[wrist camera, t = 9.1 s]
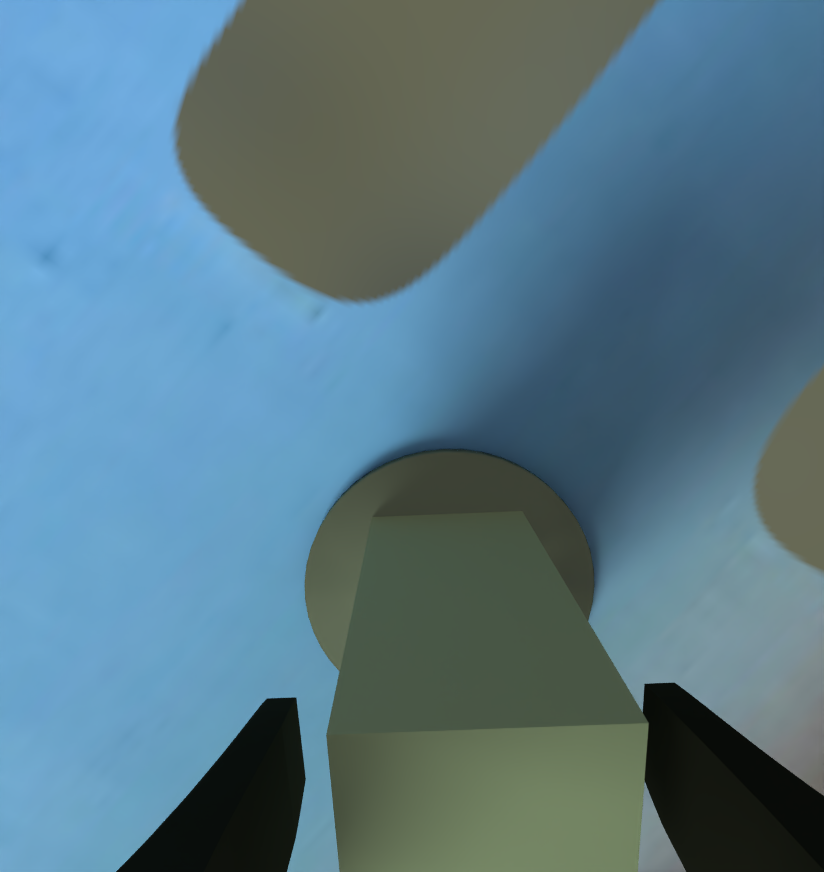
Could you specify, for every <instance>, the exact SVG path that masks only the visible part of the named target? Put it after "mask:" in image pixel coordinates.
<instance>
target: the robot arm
mask: <svg viewBox="0 0 824 872" xmlns="http://www.w3.org/2000/svg"><path fill="white" fill-rule="evenodd" d="M643 714H644V716H645V718H646V719H647V721H648V723H649V726H648V739H647V752H646V766H645V779H644V780H645V783H646V785H647V788H648V790H649V793H650V796H651V798H652V801H653V803H654V806H655V808H656V810H657V813H658V815H659V818H660V820H661V823H662V825H663V827H664V829H665V831H666V833H667V835H668V837H669V839H670V841H671V843H672V845H673V847H674V849H675V851H676V853H677V854H678V856H679V858H680V860H681V862H682V864H683V866H684V868H685V870H686V872H824V796H823V795H822V794H820V793H819V792H817V791H816V790H815V789H813V788H812V787H810V786H809V785H808V784H806V783H805V782H804V781H802V780H801V779H799V778H798V777H797V776H795V775H794V774H793V773H791V772H790V771H789V770H787V769H786V768H785V767H783V766H782V765H781V764H779V763H778V762H777V761H775V760H774V759H773V758H771V757H770V756H769V755H767V754H766V753H765V752H763V751H762V750H761V749H759V748H758V747H757V746H756V745H754V744H753V743H752V742H750V741H749V740H748V739H746V738H745V737H744V736H743V735H741V734H740V733H739V732H738V731H736V730H735V729H734V728H732V727H731V726H730V725H729V724H727V723H726V722H725V721H723V720H722V719H721V718H720V717H718V716H717V715H716V714H715V713H713V712H712V711H711V710H709V709H708V708H707V707H706V706H704V705H703V704H702V703H701V702H699V701H698V700H697V699H695V698H694V697H693V696H692V695H690V694H689V693H688V692H686V691H685V690H684V689H682V688H681V687H680V686H678V685H677V684H676V683H654V684H645V687H644V702H643ZM305 780H306V778H305V770H304V761H303V752H302V744H301V735H300V726H299V718H298V709H297V700H296V698H271V699H266V700H265V701H264V702H263V703H262V705H261V706H260V707H259V708H258V710H257V711H256V712H255V713H254V715H253V716H252V717H251V719H250V720H249V721H248V722H247V724H246V725H245V726H244V727H243V729H242V730H241V731H240V733H239V734H238V735H237V736H236V738H235V739H234V740H233V741H232V743H231V744H230V745H229V746H228V748H227V749H226V750H225V751H224V753H223V754H222V755H221V756H220V757H219V759H218V760H217V761H216V762H215V763H214V765H213V766H212V767H211V768H210V769H209V771H208V772H207V773H206V774H205V775H204V777H203V778H202V779H201V780H200V781H199V782H198V784H197V785H196V786H195V787H194V788H193V790H192V791H191V792H190V793H189V794H188V795H187V797H186V798H185V799H184V800H183V801H182V802H181V803H180V804H179V805H178V807H177V808H176V809H175V810H174V811H173V812H172V813H171V814H170V815H169V816H168V818H167V819H166V820H165V821H164V822H163V823H162V824H161V825H160V826H159V827H158V829H157V830H156V831H155V832H154V833H153V834H152V835H151V836H150V837H149V838H148V840H147V841H146V842H145V843H144V844H143V845H142V846H141V847H140V848H139V849H138V850H137V851H136V852H135V853H134V854H133V855H132V856H131V857H130V858H129V859H128V860H127V861H126V862H125V863H124V864H123V865H122V866H121V867H120V868H119V869H118V870H117V871H116V872H287V869H288V865H289V861H290V858H291V854H292V850H293V846H294V842H295V838H296V833H297V827H298V822H299V816H300V810H301V804H302V798H303V792H304V786H305Z"/></svg>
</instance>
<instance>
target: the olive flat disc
mask: <svg viewBox="0 0 824 872" xmlns="http://www.w3.org/2000/svg"><path fill="white" fill-rule="evenodd" d="M508 511H522V512H523V513H524V515H525V517H526V518H527V520H528V522H529V523H530V525H531V527H532V528H533V530H534V532H535V533H536V535H537V537H538V538H539V540H540V542H541V543H542V545H543V547H544V548H545V550H546V552H547V553H548V555H549V557H550V559H551V560H552V562H553V564H554V565H555V567H556V569H557V570H558V572H559V574H560V575H561V577H562V579H563V580H564V582H565V584H566V585H567V587H568V589H569V590H570V592H571V594H572V595H573V597H574V599H575V600H576V602H577V604H578V605H579V607H580V609H581V610H582V612H583V614H584V616H585V617H586V619H587V621H588V619H589V615H590V611H591V607H592V602H593V593H594V569H593V563H592V558H591V552H590V549H589V546H588V543H587V541H586V538H585V535H584V533H583V531H582V529H581V527H580V525H579V523H578V521H577V519H576V518H575V517H574V515H573V514H572V512H571V511H570V510H569V508H568V507H567V505H566V504H565V503H564V502H563V501H562V499H561V498H560V497H559V496H558V495H557V494H556V493H555V492H554V491H553V490H552V489H551V488H550V487H549V486H548V485H547V484H546V483H545V482H543V481H542V480H541V479H540V478H538V477H537V476H536V475H534V474H533V473H531V472H530V471H528V470H526V469H524V468H523V467H521V466H519V465H518V464H515V463H513V462H511V461H508V460H506V459H504V458H501V457H498V456H494V455H491V454H487V453H484V452H478V451H471V450H464V449H439V450H429V451H422V452H418V453H414V454H410V455H406V456H403V457H400V458H398V459H395V460H392V461H390V462H387V463H385V464H383V465H381V466H380V467H378V468H376V469H374V470H372V471H370V472H369V473H368V474H366V475H365V476H363V477H362V478H361V479H359V480H358V481H356V482H355V483H354V484H353V485H352V486H351V487H350V488H349V489H348V490H347V491H345V492H344V493H343V494H342V495H341V496H340V498H339V499H338V500H337V501H336V503H335V504H334V505H333V506H332V508H331V509H330V510H329V512H328V514H327V515H326V517H325V519H324V520H323V522H322V524H321V526H320V528H319V530H318V532H317V535H316V537H315V540H314V542H313V544H312V547H311V550H310V554H309V557H308V561H307V566H306V575H305V600H306V606H307V612H308V617H309V620H310V623H311V626H312V629H313V632H314V634H315V636H316V638H317V640H318V642H319V644H320V646H321V648H322V649H323V651H324V652H325V654H326V655H327V657H328V658H329V660H330V661H331V662H332V663H333V664H334V666H335V667H336V668H337V669H338V670H339V671H340V667H341V663H342V658H343V653H344V648H345V644H346V639H347V634H348V629H349V624H350V620H351V615H352V610H353V605H354V601H355V596H356V591H357V586H358V581H359V577H360V572H361V567H362V562H363V557H364V553H365V548H366V543H367V538H368V534H369V529H370V524H371V519H372V517H385V516H410V515H435V514H459V513H484V512H508Z"/></svg>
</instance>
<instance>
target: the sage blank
mask: <svg viewBox="0 0 824 872" xmlns="http://www.w3.org/2000/svg"><path fill="white" fill-rule="evenodd" d="M648 726H649V723H648V721H647V719H646V718H645V716H644V714H643V713H642V711H641V709H640V708H639V706H638V704H637V703H636V701H635V699H634V698H633V696H632V694H631V693H630V691H629V689H628V688H627V686H626V684H625V683H624V681H623V679H622V678H621V676H620V674H619V673H618V671H617V669H616V667H615V666H614V664H613V662H612V661H611V659H610V657H609V656H608V654H607V652H606V651H605V649H604V647H603V646H602V644H601V642H600V641H599V639H598V637H597V636H596V634H595V632H594V631H593V629H592V627H591V626H590V624H589V622H588V621H587V619H586V617H585V616H584V614H583V612H582V610H581V609H580V607H579V605H578V604H577V602H576V600H575V599H574V597H573V595H572V594H571V592H570V590H569V589H568V587H567V585H566V584H565V582H564V580H563V579H562V577H561V575H560V574H559V572H558V570H557V569H556V567H555V565H554V564H553V562H552V560H551V559H550V557H549V555H548V553H547V552H546V550H545V548H544V547H543V545H542V543H541V542H540V540H539V538H538V537H537V535H536V533H535V532H534V530H533V528H532V527H531V525H530V523H529V522H528V520H527V518H526V517H525V515H524V513H523V512H522V511H508V512H484V513H459V514H435V515H410V516H385V517H372V519H371V524H370V529H369V534H368V538H367V543H366V548H365V553H364V557H363V562H362V567H361V572H360V577H359V581H358V586H357V591H356V596H355V601H354V605H353V610H352V615H351V620H350V624H349V629H348V634H347V639H346V644H345V648H344V653H343V658H342V663H341V667H340V672H339V677H338V682H337V687H336V691H335V696H334V701H333V706H332V711H331V715H330V720H329V725H328V730H327V734H326V736H327V746H328V756H329V767H330V777H331V787H332V798H333V808H334V818H335V828H336V839H337V849H338V859H339V870H340V872H638V859H639V846H640V833H641V819H642V806H643V793H644V779H645V766H646V752H647V739H648Z"/></svg>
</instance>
